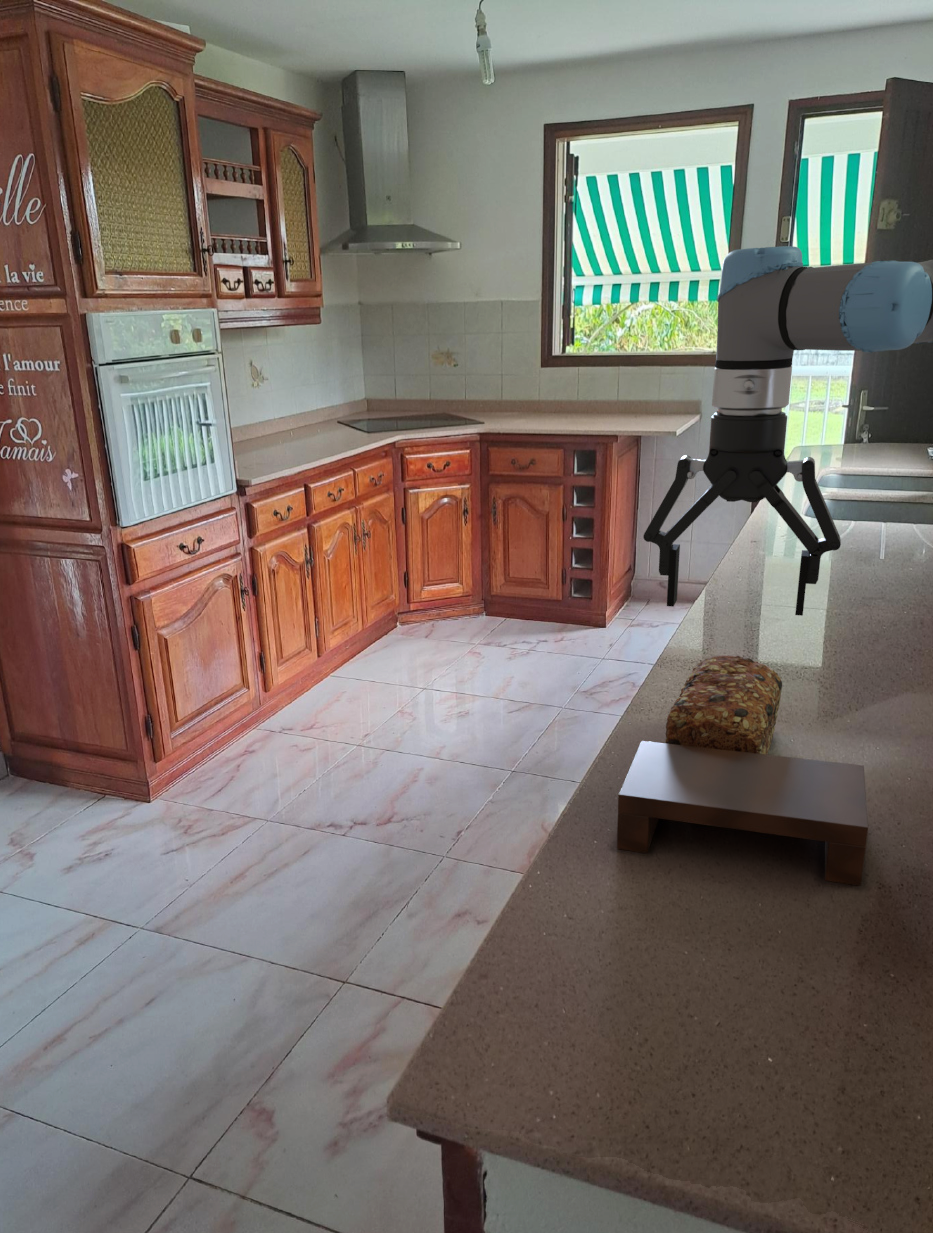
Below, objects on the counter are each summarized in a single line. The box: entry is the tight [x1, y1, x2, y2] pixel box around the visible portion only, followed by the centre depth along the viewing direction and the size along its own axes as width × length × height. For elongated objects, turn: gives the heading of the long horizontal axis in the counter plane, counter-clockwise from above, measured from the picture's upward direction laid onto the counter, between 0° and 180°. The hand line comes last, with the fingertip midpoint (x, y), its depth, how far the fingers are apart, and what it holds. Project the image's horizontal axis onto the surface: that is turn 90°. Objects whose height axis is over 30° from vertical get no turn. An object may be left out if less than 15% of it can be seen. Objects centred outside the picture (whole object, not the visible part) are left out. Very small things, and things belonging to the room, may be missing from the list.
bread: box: [664, 654, 783, 755], centre depth 111 cm, size 19×11×10 cm, turn 154°
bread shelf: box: [616, 740, 869, 887], centre depth 95 cm, size 22×13×6 cm, turn 69°
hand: (734, 607), depth 107 cm, fingers open, 13 cm apart
